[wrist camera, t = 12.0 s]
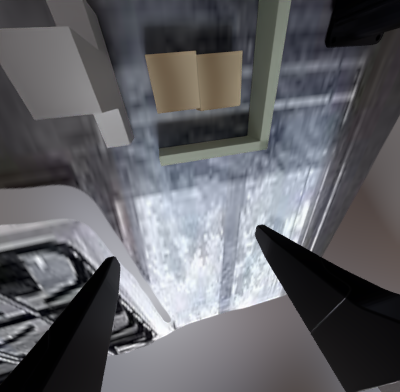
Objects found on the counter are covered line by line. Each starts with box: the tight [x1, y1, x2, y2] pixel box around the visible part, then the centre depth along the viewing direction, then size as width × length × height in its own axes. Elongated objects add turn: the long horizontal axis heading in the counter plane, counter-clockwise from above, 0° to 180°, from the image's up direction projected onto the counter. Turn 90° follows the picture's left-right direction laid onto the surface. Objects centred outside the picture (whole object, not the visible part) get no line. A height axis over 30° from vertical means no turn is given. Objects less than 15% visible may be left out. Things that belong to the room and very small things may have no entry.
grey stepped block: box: [0, 0, 134, 148], centre depth 10 cm, size 3×9×9 cm, turn 5°
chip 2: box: [196, 51, 242, 111], centre depth 15 cm, size 4×4×2 cm
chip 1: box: [145, 51, 200, 113], centre depth 14 cm, size 4×4×2 cm
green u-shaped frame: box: [159, 0, 291, 166], centre depth 14 cm, size 12×14×3 cm
